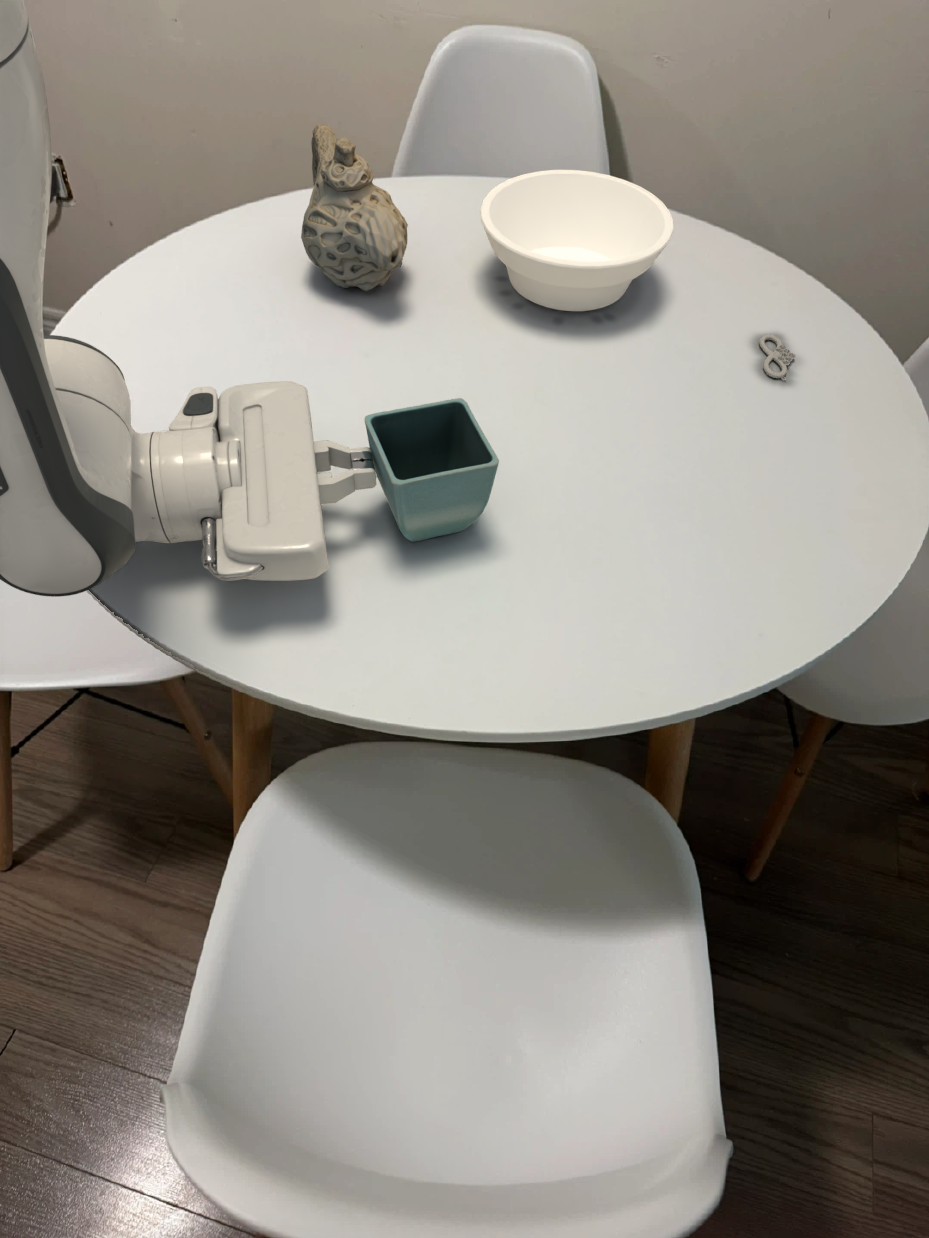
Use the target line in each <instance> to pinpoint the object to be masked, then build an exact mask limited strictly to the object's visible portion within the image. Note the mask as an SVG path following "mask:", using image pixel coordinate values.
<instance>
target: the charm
mask: <svg viewBox="0 0 929 1238" xmlns="http://www.w3.org/2000/svg"><path fill="white" fill-rule="evenodd" d="M767 340H770V341H772V342H774V343H775V344H776V348H775V349H774V350H773V351H772V350H771V349H770V348H769V347H768V346H767V345H766V343H765V342H766V341H767ZM758 342H759V347H760V349H761V350H762V351H763V352H764V353H765V354H766V355H767V357H766V359H765V360H764V363H763V370H764V372H765V374H766V375H768V376H769V377H771V378H774V379H781V380H782V381H787V378H786V377H785V376H786V374H787V372H788V367H787V366H789V365H790V364H791V362H792V361H793V359H795V358H796V356H797V355H796V354H795V353H793V352H792V351H791V350H790V349H789V348H787V346H786V345H783V343H782V340H781V339H780V338H779V336H778V335H777V334H775V335H773V334H771V333H770V334H769V333H767V334H763V335H762V336H761V337H760V339H759V341H758ZM772 361H775V363H776V364H777V365H778V366H779V367H780V369H781V371H779V372H775V371H773V370H772V369H771V368H770V363H771V362H772Z"/></svg>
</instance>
